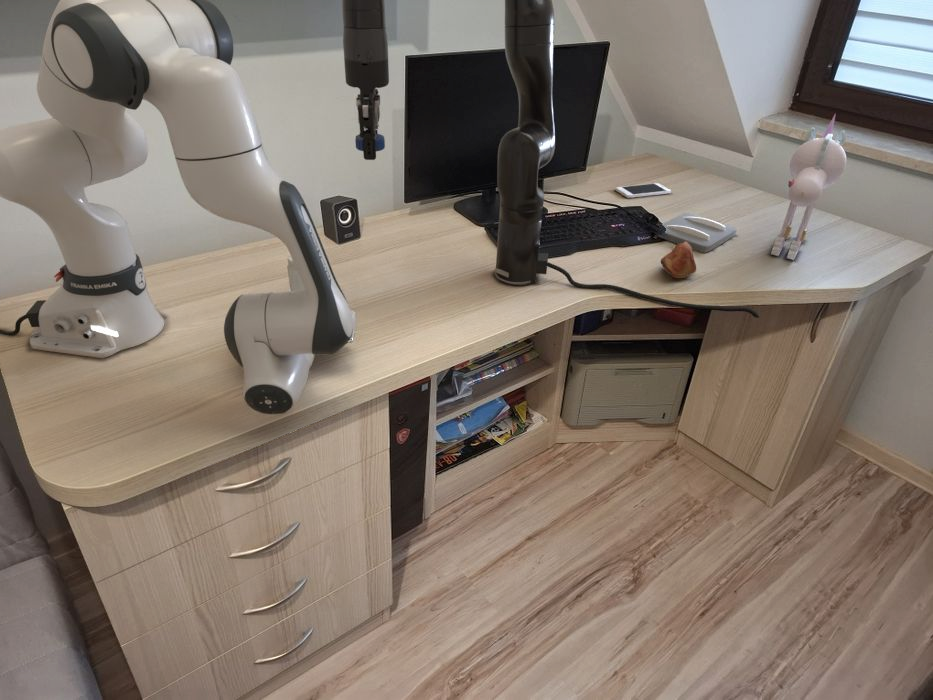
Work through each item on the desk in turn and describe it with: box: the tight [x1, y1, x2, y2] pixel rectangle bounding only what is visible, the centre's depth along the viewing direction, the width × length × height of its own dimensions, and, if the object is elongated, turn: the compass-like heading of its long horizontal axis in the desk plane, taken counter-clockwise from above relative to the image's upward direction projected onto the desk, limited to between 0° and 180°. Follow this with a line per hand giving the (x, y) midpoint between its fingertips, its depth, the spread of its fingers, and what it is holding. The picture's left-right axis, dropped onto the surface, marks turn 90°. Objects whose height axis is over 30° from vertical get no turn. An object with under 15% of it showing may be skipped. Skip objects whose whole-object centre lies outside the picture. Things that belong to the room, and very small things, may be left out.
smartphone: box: [615, 182, 672, 199], centre depth 194 cm, size 7×16×1 cm, turn 111°
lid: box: [355, 133, 386, 152], centre depth 118 cm, size 5×5×2 cm
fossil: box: [660, 241, 697, 279], centre depth 147 cm, size 13×8×10 cm
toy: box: [770, 112, 847, 261], centre depth 159 cm, size 12×36×30 cm, turn 148°
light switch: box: [654, 212, 737, 253], centre depth 167 cm, size 18×3×15 cm
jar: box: [286, 254, 305, 291], centre depth 117 cm, size 4×4×16 cm
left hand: (306, 303), depth 119 cm, fingers closed on jar, 4 cm apart
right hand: (371, 154), depth 119 cm, fingers closed on lid, 5 cm apart
